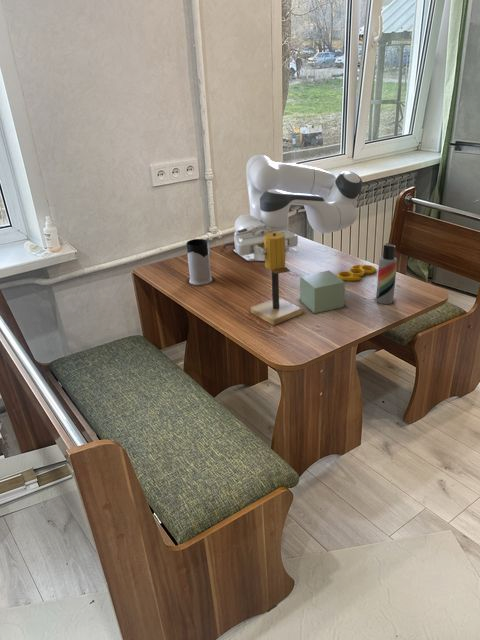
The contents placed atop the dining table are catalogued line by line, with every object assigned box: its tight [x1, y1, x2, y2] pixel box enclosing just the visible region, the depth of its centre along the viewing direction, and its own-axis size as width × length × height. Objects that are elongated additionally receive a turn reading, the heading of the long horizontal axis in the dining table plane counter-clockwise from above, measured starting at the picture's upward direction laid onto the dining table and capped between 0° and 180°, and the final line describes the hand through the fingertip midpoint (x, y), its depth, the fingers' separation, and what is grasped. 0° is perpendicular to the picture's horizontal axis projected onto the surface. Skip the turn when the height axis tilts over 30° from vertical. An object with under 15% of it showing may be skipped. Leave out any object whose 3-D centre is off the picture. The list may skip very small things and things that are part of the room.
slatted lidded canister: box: [264, 232, 291, 274], centre depth 163 cm, size 9×6×11 cm
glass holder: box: [186, 238, 213, 286], centre depth 200 cm, size 9×14×15 cm, turn 159°
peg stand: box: [250, 271, 303, 326], centre depth 170 cm, size 12×12×20 cm
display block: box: [299, 270, 346, 314], centre depth 178 cm, size 11×11×9 cm
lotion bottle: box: [375, 242, 398, 305], centre depth 175 cm, size 6×6×20 cm
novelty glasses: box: [336, 264, 377, 282], centre depth 200 cm, size 17×2×10 cm
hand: (275, 250), depth 163 cm, fingers closed on slatted lidded canister, 6 cm apart
